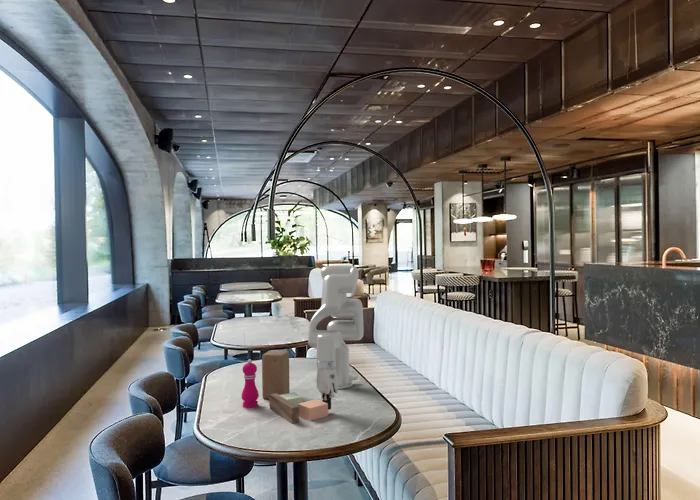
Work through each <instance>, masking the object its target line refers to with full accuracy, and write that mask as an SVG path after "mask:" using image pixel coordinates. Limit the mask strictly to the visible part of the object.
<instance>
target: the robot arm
mask: <svg viewBox="0 0 700 500" xmlns="http://www.w3.org/2000/svg"><path fill="white" fill-rule="evenodd" d="M320 276H321V279H322V289H321V290H322V291H321V303H320V304H321V305H320V308H318V310H316V312H314V314H313V315H312V317H311V318H310V321H309V326H308V334H307V336H308V339H307V340H308V345H309V346H310V348H313V349H316V369H317V370H316V388H317V390H318V391H319V393H320V394H321V401H322V402H325V403H328V411H329V410H331V409H332V399H333V398H335V394H337V393H338V392H339V390H343V389H349V388H352V387H353V384H354V383H353V381H356V380H358V379H359V376H358V375H350V349H349V347H348V345H347V344H346V342H345V341H360V340H362V339H363V337H364V308H363V303H362V301H361V299H359V298H352V297H351V298H349V297H347V296H348V295H347V294H354V292H355V291H356V288H357V285H358V281H359V270H358V267H356V266H354V265H326V266H323V267H322V268H321V269H320ZM328 317H331V318H333V319H334V320H331V321H330V322H329V323H328V324H327V326H326V330H325V329H324V330H321V329H317V326H318V324H319V323H320V322H321V321H323V320H324V319H326V318H328ZM346 319H347V320H346ZM349 319H350V320H349Z"/></svg>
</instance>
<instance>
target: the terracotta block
mask: <svg viewBox="0 0 700 500" xmlns="http://www.w3.org/2000/svg"><path fill="white" fill-rule="evenodd" d="M298 406H299V418H303V419H305V420H307V421H314V420H319V419H321V418H324V417H328V416H329V410H328V403H325V402H322V400H320V399H319V400H318V399H312V400H308V401H307V400H306V401H303V403H299V404H298Z"/></svg>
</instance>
